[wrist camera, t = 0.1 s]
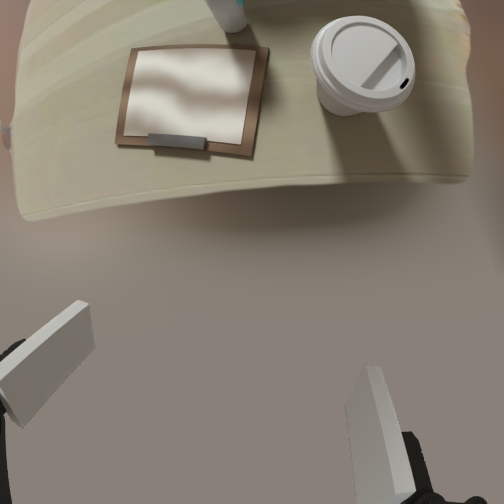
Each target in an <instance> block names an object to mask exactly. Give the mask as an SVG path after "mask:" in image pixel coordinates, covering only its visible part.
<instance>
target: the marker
mask: <svg viewBox="0 0 504 504" xmlns="http://www.w3.org/2000/svg"><path fill="white" fill-rule="evenodd" d="M205 1H206V3H207V5H208V6H209V8H210V9H211V11H212V13H213V14H214V16H215V18H216V19H217V21H218V23H219V24H220V26H221V28H222V29H223V30H224V31H226V32H228V33H237V32H240V31H241V30H243V29H244V28H245V27H246V25H247V22H248V20H247V17H246V14H245V11H244V9H243V6H244V1H245V0H205Z"/></svg>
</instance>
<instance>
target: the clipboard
mask: <svg viewBox="0 0 504 504" xmlns="http://www.w3.org/2000/svg"><path fill="white" fill-rule="evenodd" d="M268 52H269V48H265V47H253V46H239V45H212V44H193V45H166V46H152V47H141V48H132V49H131V53H130V57H129V62H128V66H127V71H126V76H125V81H124V86H123V91H122V97H121V103H120V109H119V116H118V123H117V130H116V138H115V144H125V145H145V146H161V147H174V148H185V149H196V150H205V151H214V152H223V153H231V154H238V155H246V156H252V152H253V146H254V139H255V133H256V126H257V120H258V114H259V107H260V101H261V95H262V89H263V82H264V76H265V70H266V64H267V58H268Z"/></svg>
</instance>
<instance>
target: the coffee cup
mask: <svg viewBox="0 0 504 504" xmlns="http://www.w3.org/2000/svg"><path fill="white" fill-rule="evenodd" d="M310 58H311V65H312V69H313V71H314V74H315V76H316V78H317V96H318V99H319V101H320V103H321V104H322V106H323V107H324V108H325V109H326V110H328V111H329V112H331V113H333V114H335V115H338V116H351V115H354V114H357V113H361V112H371V113H377V112H384V111H388V110H391V109H393V108H395V107H397V106H399V105H400V104H401V103H403V102H404V101H405V100H406V98H407V97H408V96H409V94H410V92H411V90H412V88H413V85H414V81H415V63H414V58H413V55H412V52H411V49H410V47H409V46H408V44H407V42H406V41H405V39H404V38H403V37H402V36H401V35H400V34H399V33H398V32H397V31H396V30H395V29H394V28H392V27H391V26H389V25H388V24H386V23H384V22H382V21H380V20H378V19H375V18H372V17H367V16H349V17H343V18H339V19H336V20H334V21H332V22H330V23H328V24H327V25H326V26H324V27H323V28H322V29H321V30H320V31H319V32H318V33H317V35H316V36H315V38H314V40H313V43H312V46H311V53H310Z"/></svg>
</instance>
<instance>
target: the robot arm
mask: <svg viewBox="0 0 504 504" xmlns="http://www.w3.org/2000/svg"><path fill="white" fill-rule="evenodd" d="M94 349H95V342H94V336H93V329H92V322H91V314H90V305H89V304H88V303H85V302H82V301H79V300H77V301H76V302H74V303H73V304H72V305H70V306H69V307H68V308H66V309H65V310H64V311H63V312H61V313H60V314H59V315H57V316H56V317H55V318H54V319H52V320H51V321H50V322H48V323H47V324H46V325H45V326H43V327H42V328H41V329H40V330H39V331H37V332H36V333H35V334H33V335H32V336H31V337H30V338H28V339H27V340H26V339H23V340H20V341H18V342H15V343H14V344H13V345H11V346H10V347H9V348H8V350H6V351H4V352H3V353H2V355H0V504H12V500H11V494H10V487H9V479H8V470H7V459H6V442H5V418H4V416H3V415H4V413H5V412H7V413H8V415H9V417H10V419H11V420H12V421H13V422H14V423H16V424H17V425H18V426H20V427H21V428H22V429H23V428H24V427H25V426H26V425H27V424H28V422H29V421H30V420H31V419H32V418H33V417H34V415H35V414H36V413H37V412H38V411H39V409H40V408H41V407H42V406H43V405H44V404H45V403H46V401H47V400H48V399H49V398H50V397H51V396H52V395H53V394H54V392H55V391H56V390H57V389H58V388H59V387H60V386H61V385H62V384H63V382H64V381H65V380H66V379H67V378H68V377H69V376H70V375H71V373H73V372H74V370H75V369H76V368H77V367H78V366H79V365H80V364H81V363H82V362H83V361H84V360H85V359H86V358H87V356H88V355H89V354H90V353H91V352H92V351H93V350H94ZM345 410H346V417H347V424H348V431H349V440H350V447H351V456H352V465H353V475H354V485H355V496H356V504H487V502H486V501H485V500H484V499H483V498H481V497H479V496H474V497H471V498H469V499H468V500H467V501H466V502H464V503H456V502H447V501H445V500H444V498H443V497H442V496H441V495H439V494H437V493H434V491H433V489H432V485H431V482H430V478H429V475H428V470H427V467H426V464H425V461H424V457H423V453H421V451H422V450H421V447H420V444H419V441H418V439H417V438H416V437H415V435H414V434H413V433H412V432H401V430H400V427H399V423H398V420H397V417H396V413H395V410H394V407H393V404H392V400H391V397H390V394H389V391H388V388H387V385H386V382H385V379H384V376H383V373H382V370H381V367H380V366H374V365H365V366H364V368H363V370H362V372H361V374H360V377H359V379H358V381H357V383H356V385H355V387H354V389H353V391H352V393H351V395H350V397H349V399H348V401H347V403H346V405H345Z"/></svg>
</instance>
